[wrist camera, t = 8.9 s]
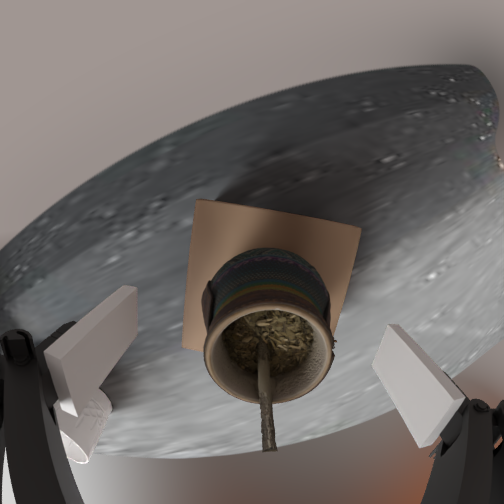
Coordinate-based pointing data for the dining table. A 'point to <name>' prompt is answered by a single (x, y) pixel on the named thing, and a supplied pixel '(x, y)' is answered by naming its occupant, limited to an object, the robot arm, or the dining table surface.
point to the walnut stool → (262, 236)
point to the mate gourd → (267, 330)
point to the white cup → (83, 427)
